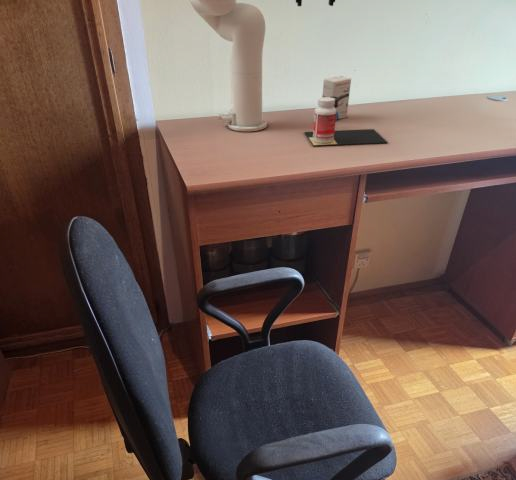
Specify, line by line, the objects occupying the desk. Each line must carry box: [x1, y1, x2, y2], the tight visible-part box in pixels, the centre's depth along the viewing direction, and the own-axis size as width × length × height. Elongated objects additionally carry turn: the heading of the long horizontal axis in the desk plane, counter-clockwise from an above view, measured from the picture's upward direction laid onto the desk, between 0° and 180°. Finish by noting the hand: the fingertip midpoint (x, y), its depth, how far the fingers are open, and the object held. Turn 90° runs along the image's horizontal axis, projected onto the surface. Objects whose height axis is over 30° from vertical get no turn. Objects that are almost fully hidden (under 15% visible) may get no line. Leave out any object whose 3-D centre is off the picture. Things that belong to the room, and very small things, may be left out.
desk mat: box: [304, 128, 388, 147], centre depth 135 cm, size 22×13×1 cm, turn 97°
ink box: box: [321, 75, 352, 121], centre depth 148 cm, size 8×5×12 cm, turn 131°
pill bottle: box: [312, 97, 337, 143], centre depth 129 cm, size 6×6×11 cm
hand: (315, 5), depth 134 cm, fingers open, 9 cm apart
